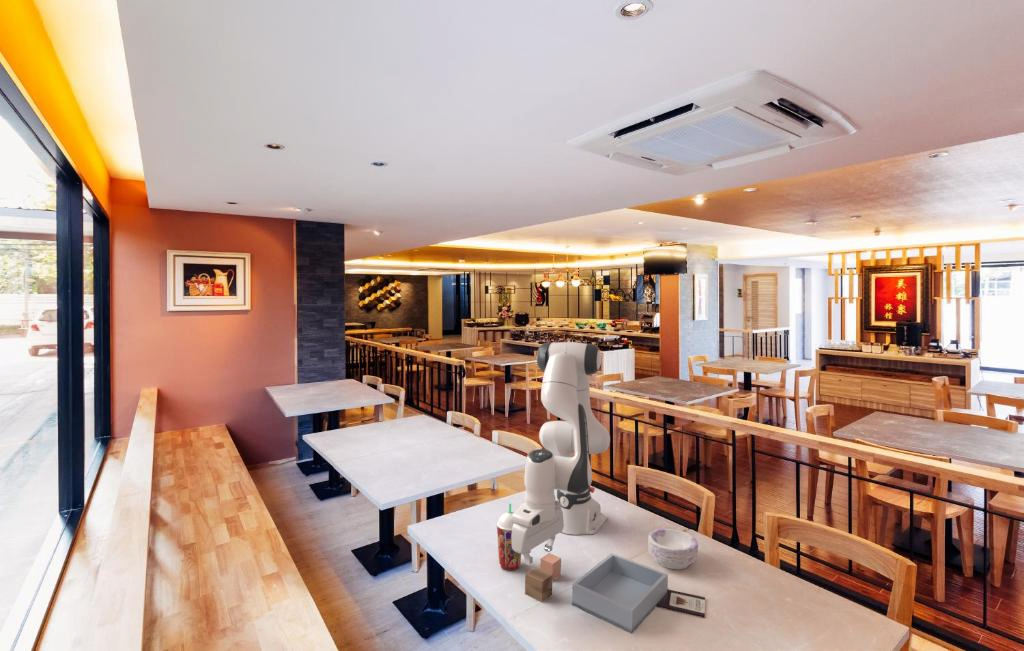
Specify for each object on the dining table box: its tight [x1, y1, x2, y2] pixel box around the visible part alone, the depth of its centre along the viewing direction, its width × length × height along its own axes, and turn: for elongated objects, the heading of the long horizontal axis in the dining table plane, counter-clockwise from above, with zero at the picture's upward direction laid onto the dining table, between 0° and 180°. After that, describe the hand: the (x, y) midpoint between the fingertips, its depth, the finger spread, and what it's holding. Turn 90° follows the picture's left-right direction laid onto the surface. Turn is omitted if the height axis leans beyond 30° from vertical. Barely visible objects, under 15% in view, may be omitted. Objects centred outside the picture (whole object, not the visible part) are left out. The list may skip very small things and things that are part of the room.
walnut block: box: [524, 566, 553, 603], centre depth 143 cm, size 5×6×6 cm
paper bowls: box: [647, 528, 699, 571], centre depth 161 cm, size 15×15×8 cm
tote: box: [571, 552, 669, 634], centre depth 141 cm, size 22×18×6 cm
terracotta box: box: [539, 552, 562, 583], centre depth 153 cm, size 4×4×6 cm
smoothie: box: [496, 503, 522, 571], centre depth 158 cm, size 8×8×20 cm
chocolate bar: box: [656, 588, 706, 619], centre depth 141 cm, size 9×1×18 cm
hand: (538, 556), depth 142 cm, fingers open, 8 cm apart
